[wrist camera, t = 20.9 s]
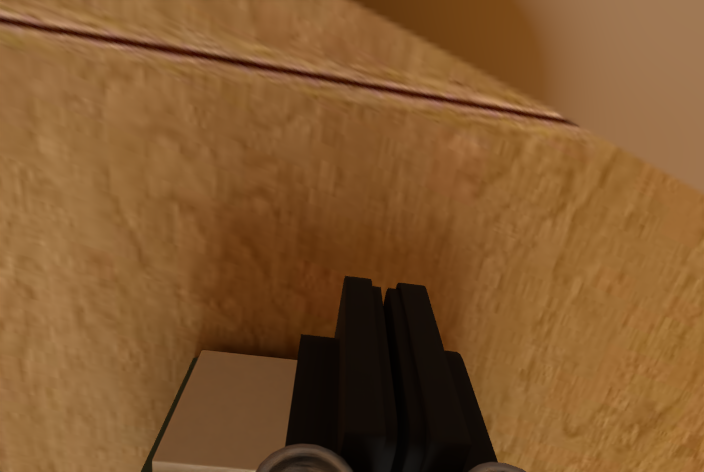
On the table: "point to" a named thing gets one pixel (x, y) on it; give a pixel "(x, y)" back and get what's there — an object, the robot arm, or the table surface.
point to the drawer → (228, 414)
